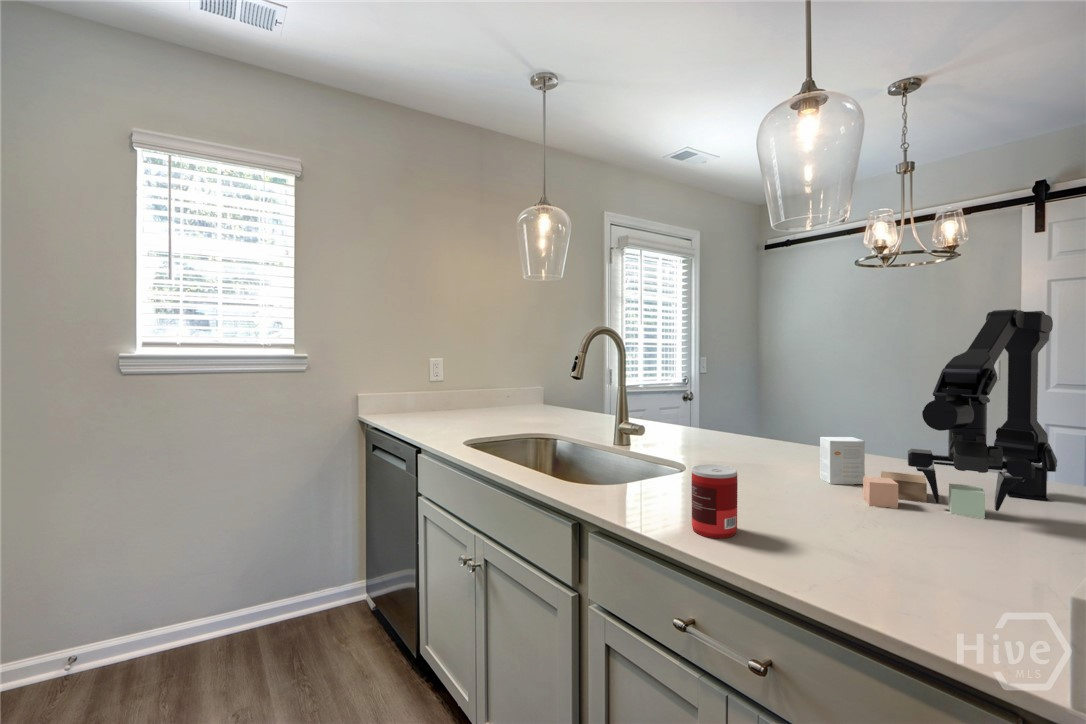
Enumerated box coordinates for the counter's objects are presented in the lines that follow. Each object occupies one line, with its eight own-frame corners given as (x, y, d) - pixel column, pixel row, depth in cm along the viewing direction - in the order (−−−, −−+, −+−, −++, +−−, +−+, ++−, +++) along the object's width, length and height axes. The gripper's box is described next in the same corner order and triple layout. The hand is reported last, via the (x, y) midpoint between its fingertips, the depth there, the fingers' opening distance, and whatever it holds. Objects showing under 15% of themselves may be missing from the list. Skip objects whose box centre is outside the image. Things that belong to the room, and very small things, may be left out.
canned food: (736, 526, 93) (736, 465, 93) (737, 541, 86) (738, 476, 86) (692, 521, 96) (692, 463, 96) (690, 536, 88) (690, 472, 88)
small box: (853, 479, 127) (853, 436, 126) (865, 485, 121) (865, 440, 121) (819, 478, 127) (819, 436, 127) (829, 484, 122) (829, 440, 122)
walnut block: (924, 493, 114) (924, 475, 113) (926, 502, 107) (926, 483, 107) (881, 488, 118) (881, 471, 118) (880, 496, 111) (880, 478, 111)
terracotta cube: (890, 501, 108) (890, 478, 108) (898, 508, 103) (898, 484, 103) (863, 499, 110) (863, 476, 110) (869, 506, 105) (869, 482, 105)
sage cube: (981, 512, 101) (981, 486, 101) (984, 519, 97) (985, 492, 97) (948, 507, 104) (948, 483, 104) (950, 514, 100) (951, 488, 99)
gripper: (909, 428, 98) (908, 509, 99) (1043, 437, 88) (1041, 527, 88) (907, 421, 108) (907, 495, 108) (1028, 428, 97) (1027, 510, 98)
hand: (966, 506), depth 100 cm, fingers open, 9 cm apart
